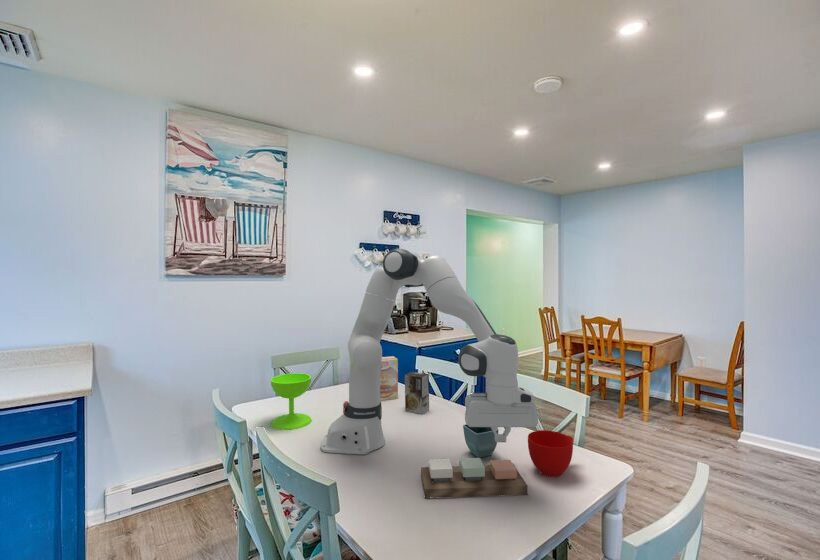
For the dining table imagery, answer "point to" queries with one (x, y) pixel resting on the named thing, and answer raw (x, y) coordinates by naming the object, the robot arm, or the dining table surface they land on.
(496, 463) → the pink square block
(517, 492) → the button board
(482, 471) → the sage tile
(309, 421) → the wineglass
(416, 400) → the coffee box
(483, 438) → the flower pot
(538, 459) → the ceramic cup
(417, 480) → the dining table surface
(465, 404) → the robot arm
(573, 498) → the dining table surface
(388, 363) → the coffeecake box
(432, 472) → the white square block
